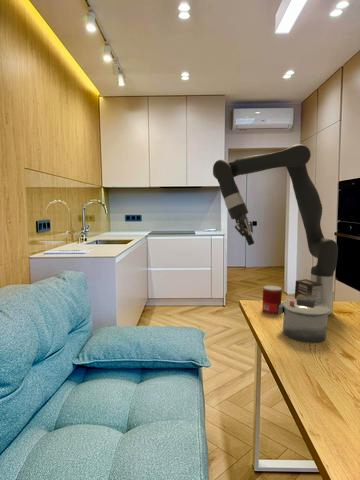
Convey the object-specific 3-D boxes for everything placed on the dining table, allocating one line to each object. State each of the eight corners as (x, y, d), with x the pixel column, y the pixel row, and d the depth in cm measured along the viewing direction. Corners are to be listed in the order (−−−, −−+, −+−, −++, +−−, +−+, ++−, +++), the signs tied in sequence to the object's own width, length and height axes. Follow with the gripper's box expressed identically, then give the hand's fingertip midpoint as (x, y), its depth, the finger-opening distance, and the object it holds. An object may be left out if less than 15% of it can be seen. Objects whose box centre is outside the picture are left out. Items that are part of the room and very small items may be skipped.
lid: (277, 309, 118) (277, 301, 117) (289, 298, 131) (289, 291, 131) (325, 318, 109) (325, 310, 109) (332, 306, 122) (333, 298, 122)
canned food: (281, 315, 142) (282, 290, 141) (262, 313, 143) (263, 289, 142) (279, 309, 149) (281, 286, 148) (261, 308, 151) (262, 284, 150)
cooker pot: (273, 335, 120) (274, 309, 119) (284, 323, 132) (285, 299, 131) (322, 346, 111) (324, 318, 110) (329, 332, 123) (330, 306, 122)
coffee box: (292, 316, 140) (294, 280, 138) (303, 314, 143) (305, 278, 141) (309, 324, 132) (311, 285, 130) (320, 321, 135) (323, 283, 133)
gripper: (236, 202, 128) (253, 243, 127) (249, 201, 139) (265, 239, 138) (221, 210, 133) (237, 250, 131) (235, 208, 144) (250, 245, 142)
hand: (251, 244), depth 134 cm, fingers closed
